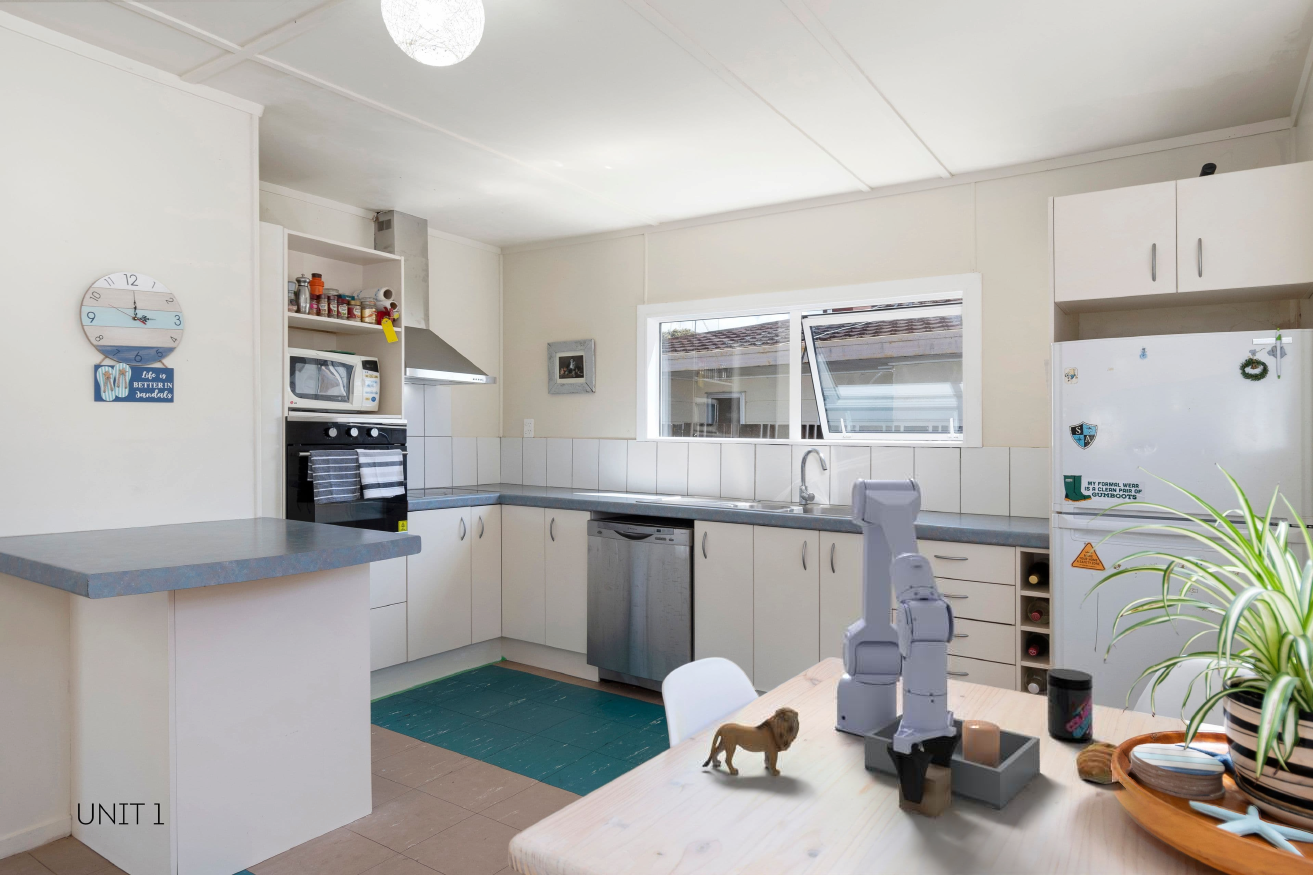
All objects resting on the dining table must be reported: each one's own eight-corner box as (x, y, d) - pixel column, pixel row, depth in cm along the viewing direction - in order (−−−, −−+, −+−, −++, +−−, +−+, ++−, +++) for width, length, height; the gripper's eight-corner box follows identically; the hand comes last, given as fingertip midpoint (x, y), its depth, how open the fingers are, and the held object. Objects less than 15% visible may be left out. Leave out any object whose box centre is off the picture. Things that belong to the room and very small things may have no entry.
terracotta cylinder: (958, 775, 111) (958, 727, 112) (967, 764, 115) (967, 717, 116) (995, 784, 108) (995, 734, 109) (1003, 772, 112) (1003, 724, 113)
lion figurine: (794, 760, 118) (794, 701, 119) (804, 775, 113) (804, 713, 113) (699, 763, 117) (699, 703, 117) (704, 778, 112) (705, 715, 112)
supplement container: (1058, 743, 125) (1058, 679, 126) (1040, 729, 132) (1039, 667, 132) (1101, 745, 125) (1100, 680, 125) (1080, 730, 132) (1080, 668, 132)
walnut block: (899, 807, 103) (898, 769, 103) (914, 795, 107) (914, 758, 107) (935, 819, 100) (935, 780, 100) (950, 806, 103) (950, 768, 103)
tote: (864, 768, 115) (864, 734, 116) (912, 738, 128) (912, 707, 128) (1000, 809, 102) (1000, 771, 102) (1039, 771, 114) (1039, 738, 114)
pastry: (1118, 792, 108) (1118, 765, 108) (1066, 779, 113) (1065, 752, 113) (1134, 772, 115) (1133, 746, 115) (1084, 760, 119) (1083, 735, 120)
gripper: (931, 709, 95) (931, 820, 95) (975, 683, 106) (975, 783, 106) (878, 696, 100) (878, 802, 100) (925, 673, 111) (925, 769, 111)
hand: (925, 791), depth 103 cm, fingers open, 7 cm apart
